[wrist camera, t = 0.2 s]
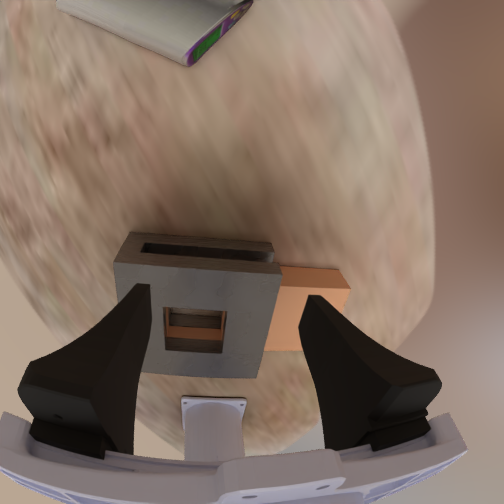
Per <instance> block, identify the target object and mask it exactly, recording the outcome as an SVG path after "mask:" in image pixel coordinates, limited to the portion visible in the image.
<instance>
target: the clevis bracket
mask: <svg viewBox="0 0 504 504" xmlns="http://www.w3.org/2000/svg"><path fill="white" fill-rule="evenodd" d="M274 253H275V252H274V250H273V247H272V244H271V243H263V242H251V241H239V240H226V239H214V238H201V237H189V236H176V235H163V234H149V233H136V232H130V233H129V235H128V236H127V238H126V240H125V242H124V243H123V245H122V247H121V249H120V251H119V252H118V254H117V256H116V258H115V260H114V262H113V265H114V274H115V283H116V291H117V298H118V303H119V302H120V301H121V300H122V299H123V298H124V297H125V296H126V294H127V293H128V292H129V291H130V290H131V289H132V288H133V286H134V285H135V284H137V283H142V284H150V290H151V307H152V325H151V332H150V339H149V342H148V346H147V350H146V354H145V358H144V362H143V365H142V369H141V372H146V373H155V374H165V375H177V376H191V377H210V378H256V377H257V374H258V370H259V366H260V362H261V359H262V355H263V351H264V347H265V344H266V340H267V336H268V332H269V328H270V324H271V320H272V316H273V312H274V308H275V304H276V300H277V296H278V292H279V288H280V284H281V280H282V276H283V274H282V271H281V269H280V266H279V263H272V262H273V257H274ZM166 307H168V320H169V326H181V327H194V328H211V329H221V323H222V315H223V311H225V315H224V323H223V331H222V340H221V341H220V340H201V339H186V338H173V337H167V326H166ZM170 307H174V308H186V309H201V310H216V311H221V315H220V317H213V316H197V315H183V314H171V310H170Z"/></svg>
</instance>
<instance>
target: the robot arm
mask: <svg viewBox="0 0 504 504" xmlns="http://www.w3.org/2000/svg"><path fill="white" fill-rule="evenodd" d="M151 325H152V307H151V290H150V284H142V283H137V284H135V285H134V286H133V288H132V289H131V290H130V291H129V292H128V293H127V294H126V296H125V297H124V298H123V299H122V300H121V301H120V302H119V303H118V304H117V305H116V306H115V307H114V308H113V309H112V310H111V311H110V312H109V313H108V314H107V315H106V316H105V317H104V318H103V319H102V320H101V321H100V322H99V323H97V324H96V325H95V326H94V327H93V328H91V329H90V330H89V331H88V332H86V333H85V334H84V335H82V336H80V337H79V338H77V339H76V340H74V341H73V342H71V343H70V344H68V345H66V346H64V347H63V348H61V349H59V350H57V351H55V352H53V353H51V354H49V355H47V356H44V357H41V358H39V359H37V360H34V361H31V362H30V363H29V365H28V367H27V369H26V370H25V373H24V375H23V377H22V380H21V382H20V385H19V387H18V394H19V397H20V398H21V400H22V402H23V403H24V404H25V406H26V407H27V409H28V410H29V411H30V413H31V414H32V415H33V417H34V419H33V422H32V424H31V423H30V422H28V421H27V420H25V419H23V418H20V417H18V416H15V415H12V414H10V413H8V412H3V414H2V417H1V420H0V471H1V472H2V473H4V474H5V475H6V476H8V477H9V478H10V479H12V480H13V481H15V482H16V483H18V484H19V485H22V486H24V487H26V488H28V489H31V490H33V491H35V492H38V493H40V494H43V495H45V496H47V497H50V498H53V499H55V500H58V501H61V502H64V503H66V504H369V503H371V502H374V501H377V500H380V499H382V498H385V497H387V496H389V495H392V494H394V493H396V492H399V491H401V490H404V489H406V488H408V487H410V486H412V485H415V484H417V483H419V482H421V481H423V480H425V479H427V478H429V477H432V476H434V475H436V474H437V473H439V472H440V471H442V470H443V469H445V468H446V467H447V466H449V465H450V464H452V463H453V462H454V461H456V460H457V459H458V458H460V457H461V456H462V455H463V454H465V453H466V452H467V451H468V448H467V446H466V444H465V442H464V440H463V438H462V436H461V434H460V432H459V430H458V429H457V427H456V425H455V423H454V421H453V419H452V418H451V416H450V414H449V413H445V414H442V415H439V416H437V417H434V418H432V419H431V420H429V421H427V419H426V417H425V416H427V415H428V412H427V410H426V407H427V406H428V405H429V404H430V402H431V401H432V400H433V399H434V398H435V397H436V396H437V394H438V393H439V391H440V389H441V387H442V382H441V380H440V379H439V377H438V375H437V374H436V372H435V371H434V369H431V368H428V367H425V366H423V365H419V364H417V363H414V362H412V361H410V360H408V359H405V358H403V357H401V356H399V355H397V354H395V353H394V352H392V351H390V350H388V349H386V348H385V347H383V346H382V345H380V344H379V343H377V342H376V341H374V340H373V339H371V338H370V337H368V336H367V335H366V334H364V333H363V332H362V331H361V330H359V329H358V328H357V327H356V326H355V325H353V324H352V323H351V322H350V321H349V320H348V319H347V318H345V317H344V316H343V315H342V314H341V313H340V312H339V311H338V310H337V309H336V308H335V307H333V306H332V305H331V304H330V303H329V302H328V301H327V300H326V299H325V298H324V297H322V296H321V295H308V298H307V301H306V304H305V307H304V310H303V313H302V316H301V319H300V322H299V325H298V330H299V336H300V341H301V346H302V349H303V352H304V355H305V358H306V361H307V363H308V366H309V369H310V372H311V375H312V378H313V381H314V384H315V388H316V392H317V397H318V402H319V407H320V413H321V419H322V425H323V434H324V442H325V449H318V450H311V451H304V452H296V453H287V454H275V455H261V456H248V457H245V450H244V442H243V433H242V425H241V422H242V418H243V414H244V411H245V407H246V403H247V401H246V399H244V398H201V397H182V398H181V406H182V420H183V430H184V431H185V461H182V460H169V459H159V458H150V457H142V456H135V455H134V454H133V452H134V447H133V445H134V443H133V442H134V421H135V409H136V398H137V389H138V383H139V377H140V373H141V369H142V365H143V362H144V358H145V354H146V350H147V346H148V342H149V339H150V332H151Z"/></svg>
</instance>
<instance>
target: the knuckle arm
mask: <svg viewBox="0 0 504 504" xmlns="http://www.w3.org/2000/svg"><path fill="white" fill-rule="evenodd" d="M280 269H281V271H282V274H283V276H282V280H281V284H280V288H279V292H278V296H277V300H276V304H275V308H274V312H273V316H272V320H271V324H270V328H269V332H268V336H267V340H266V344H265V347H264V351H296V350H303V349H302V346H301V341H300V336H299V330H298V325H299V322H300V319H301V316H302V313H303V310H304V307H305V304H306V301H307V298H308V295H321V296H322V297H324V298H325V299H326V300H327V301H328V302H329V303H330V304H331V305H332V306H333V307H335V308H336V309H337V310H338V311H339V312H340V313H342V311H343V308H344V306H345V303H346V301H347V298H348V295H349V293H350V290H351V288H350V287H349V285H348V284H347V282H346V280H345V279H344V277H343V276H342V274H341V273H340V271H339V270H333V269H317V268H302V267H287V266H280ZM224 315H225V311H223V315H222V323H221V329H211V328H194V327H181V326H169V320H168V307H166V326H167V337H173V338H186V339H201V340H220V341H221V340H222V331H223V323H224Z"/></svg>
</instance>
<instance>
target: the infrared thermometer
mask: <svg viewBox="0 0 504 504" xmlns="http://www.w3.org/2000/svg"><path fill="white" fill-rule="evenodd" d="M252 4H253V0H56V8H57V9H58V10H59V11H62V12H64V13H67V14H70V15H72V16H75V17H77V18H80V19H82V20H84V21H87V22H89V23H92V24H94V25H96V26H98V27H101V28H103V29H105V30H107V31H109V32H111V33H114V34H116V35H118V36H120V37H122V38H124V39H126V40H128V41H130V42H132V43H135V44H137V45H140V46H142V47H144V48H147V49H149V50H151V51H154V52H156V53H158V54H160V55H163V56H165V57H167V58H169V59H171V60H173V61H176V62H178V63H180V64H182V65H185V66H188V67H190V66H192V65H193V64H194V63H196V62H197V61H198V60H199V59H200V58H201V57H202V56H203V54H204V53H205V52H206V51H207V50H208V49H209V48H210V47H212V46H213V45H214V44H215V43H216V42H217V41H218V40H219V39H220V38H221V37H222V36H223V35H224V34H225V33H226V32H227V31H228V30H229V29H230V28H231V27H232V26H233V25H234V24H235V23H236V22H237V21H238V20H239V19H240V18H241V17H242V16H243V15H244V14H245V13H246V12H247V10H248V9H249V8H250V7H251V5H252Z"/></svg>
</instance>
